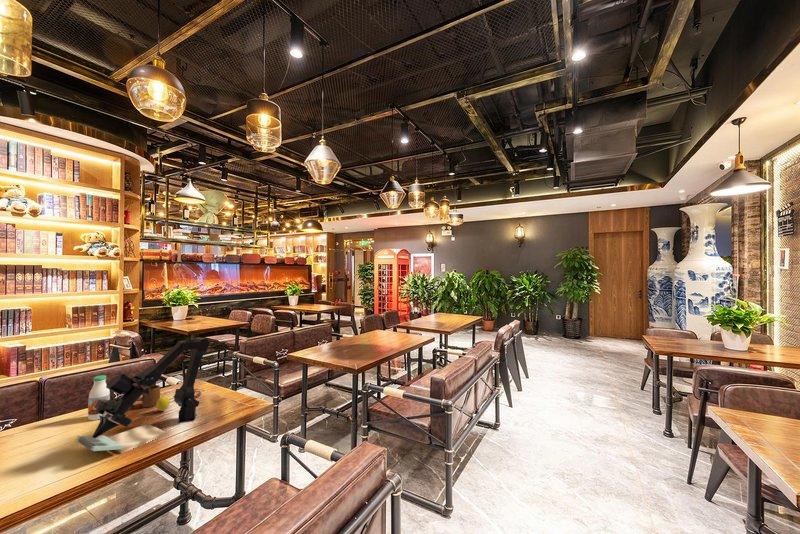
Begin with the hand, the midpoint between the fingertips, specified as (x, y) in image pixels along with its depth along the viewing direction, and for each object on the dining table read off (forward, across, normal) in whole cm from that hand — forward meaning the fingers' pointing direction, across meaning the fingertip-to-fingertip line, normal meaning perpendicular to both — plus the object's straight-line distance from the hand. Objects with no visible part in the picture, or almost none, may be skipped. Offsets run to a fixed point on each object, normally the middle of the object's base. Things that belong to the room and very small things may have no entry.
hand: (93, 437), depth 125 cm
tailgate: (0, 0, +8) cm, 8 cm away
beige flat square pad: (-5, 0, +15) cm, 15 cm away
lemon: (-18, -20, +29) cm, 40 cm away
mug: (-18, -34, +28) cm, 47 cm away
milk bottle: (-5, -39, +16) cm, 43 cm away
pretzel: (-30, -28, +42) cm, 59 cm away
